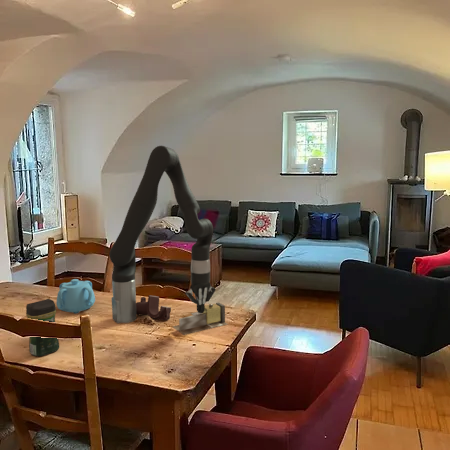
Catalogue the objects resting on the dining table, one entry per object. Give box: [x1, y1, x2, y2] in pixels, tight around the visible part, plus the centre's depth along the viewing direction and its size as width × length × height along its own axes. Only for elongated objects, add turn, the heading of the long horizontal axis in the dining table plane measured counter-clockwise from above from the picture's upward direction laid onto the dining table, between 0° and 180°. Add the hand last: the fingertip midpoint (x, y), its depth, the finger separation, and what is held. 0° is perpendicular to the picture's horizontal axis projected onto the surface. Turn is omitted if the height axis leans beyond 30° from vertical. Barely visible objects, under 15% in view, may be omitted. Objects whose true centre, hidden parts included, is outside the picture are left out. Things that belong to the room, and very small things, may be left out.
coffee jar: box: [25, 298, 60, 357], centre depth 162 cm, size 10×8×19 cm
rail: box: [172, 301, 229, 336], centre depth 183 cm, size 20×10×8 cm, turn 122°
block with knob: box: [202, 303, 220, 324], centre depth 185 cm, size 6×4×7 cm
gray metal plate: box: [190, 311, 202, 316], centre depth 197 cm, size 8×6×1 cm
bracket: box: [136, 295, 172, 321], centre depth 194 cm, size 6×17×10 cm, turn 60°
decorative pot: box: [55, 278, 96, 314], centre depth 205 cm, size 16×16×14 cm
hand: (200, 312), depth 183 cm, fingers closed
